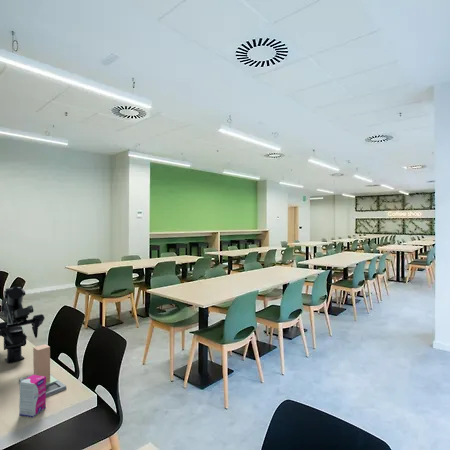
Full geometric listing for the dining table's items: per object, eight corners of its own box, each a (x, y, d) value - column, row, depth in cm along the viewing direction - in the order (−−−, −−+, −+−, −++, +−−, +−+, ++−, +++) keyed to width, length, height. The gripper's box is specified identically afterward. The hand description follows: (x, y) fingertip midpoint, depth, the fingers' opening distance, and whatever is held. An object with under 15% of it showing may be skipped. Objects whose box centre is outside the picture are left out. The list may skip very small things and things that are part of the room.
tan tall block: (33, 382, 127) (33, 347, 127) (45, 377, 131) (45, 344, 130) (38, 385, 124) (37, 350, 124) (50, 381, 128) (49, 346, 128)
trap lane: (19, 382, 130) (19, 378, 130) (45, 373, 138) (45, 369, 138) (38, 399, 117) (38, 396, 117) (66, 388, 124) (66, 385, 124)
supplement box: (33, 417, 106) (33, 383, 106) (18, 415, 107) (18, 382, 107) (46, 408, 112) (46, 375, 112) (32, 406, 113) (32, 374, 113)
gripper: (-5, 304, 135) (3, 336, 128) (42, 296, 149) (52, 325, 143) (-10, 319, 140) (-2, 350, 133) (36, 310, 155) (45, 338, 148)
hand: (24, 340), depth 139 cm, fingers open, 9 cm apart
